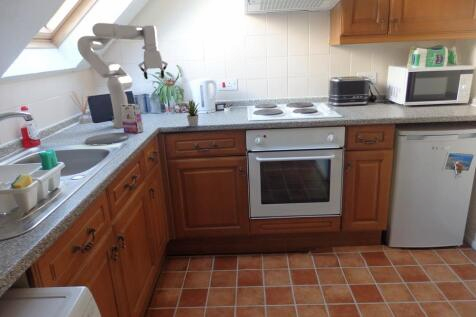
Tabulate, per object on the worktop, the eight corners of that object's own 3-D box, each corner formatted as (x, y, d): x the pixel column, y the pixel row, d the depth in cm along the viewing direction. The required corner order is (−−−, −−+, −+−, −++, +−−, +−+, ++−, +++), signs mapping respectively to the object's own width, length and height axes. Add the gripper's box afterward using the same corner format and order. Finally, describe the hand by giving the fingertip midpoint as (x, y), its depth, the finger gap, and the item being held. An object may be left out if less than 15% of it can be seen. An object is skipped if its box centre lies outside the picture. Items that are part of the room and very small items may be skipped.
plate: (76, 143, 188) (76, 140, 188) (108, 134, 207) (108, 131, 206) (106, 146, 178) (105, 143, 178) (137, 136, 197) (136, 133, 196)
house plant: (178, 124, 222) (175, 98, 217) (199, 121, 227) (196, 96, 222) (184, 128, 209) (181, 100, 204) (206, 125, 214) (204, 98, 210)
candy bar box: (144, 131, 207) (140, 103, 203) (138, 133, 203) (133, 105, 198) (129, 130, 213) (125, 103, 208) (123, 132, 208) (119, 104, 204)
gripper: (137, 48, 200) (141, 79, 205) (167, 47, 207) (170, 77, 212) (134, 49, 206) (138, 79, 211) (164, 47, 214) (166, 77, 219)
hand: (154, 78), depth 212 cm, fingers open, 9 cm apart
